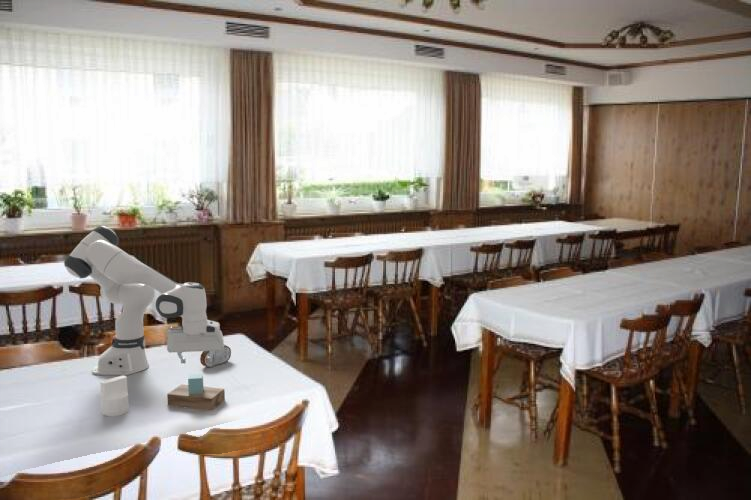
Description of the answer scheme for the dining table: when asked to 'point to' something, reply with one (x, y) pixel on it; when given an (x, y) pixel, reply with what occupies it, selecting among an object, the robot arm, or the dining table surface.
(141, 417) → the dining table surface
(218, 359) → the tin
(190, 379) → the teal cube
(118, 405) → the cylinder with rectangular tab
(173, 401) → the walnut block
